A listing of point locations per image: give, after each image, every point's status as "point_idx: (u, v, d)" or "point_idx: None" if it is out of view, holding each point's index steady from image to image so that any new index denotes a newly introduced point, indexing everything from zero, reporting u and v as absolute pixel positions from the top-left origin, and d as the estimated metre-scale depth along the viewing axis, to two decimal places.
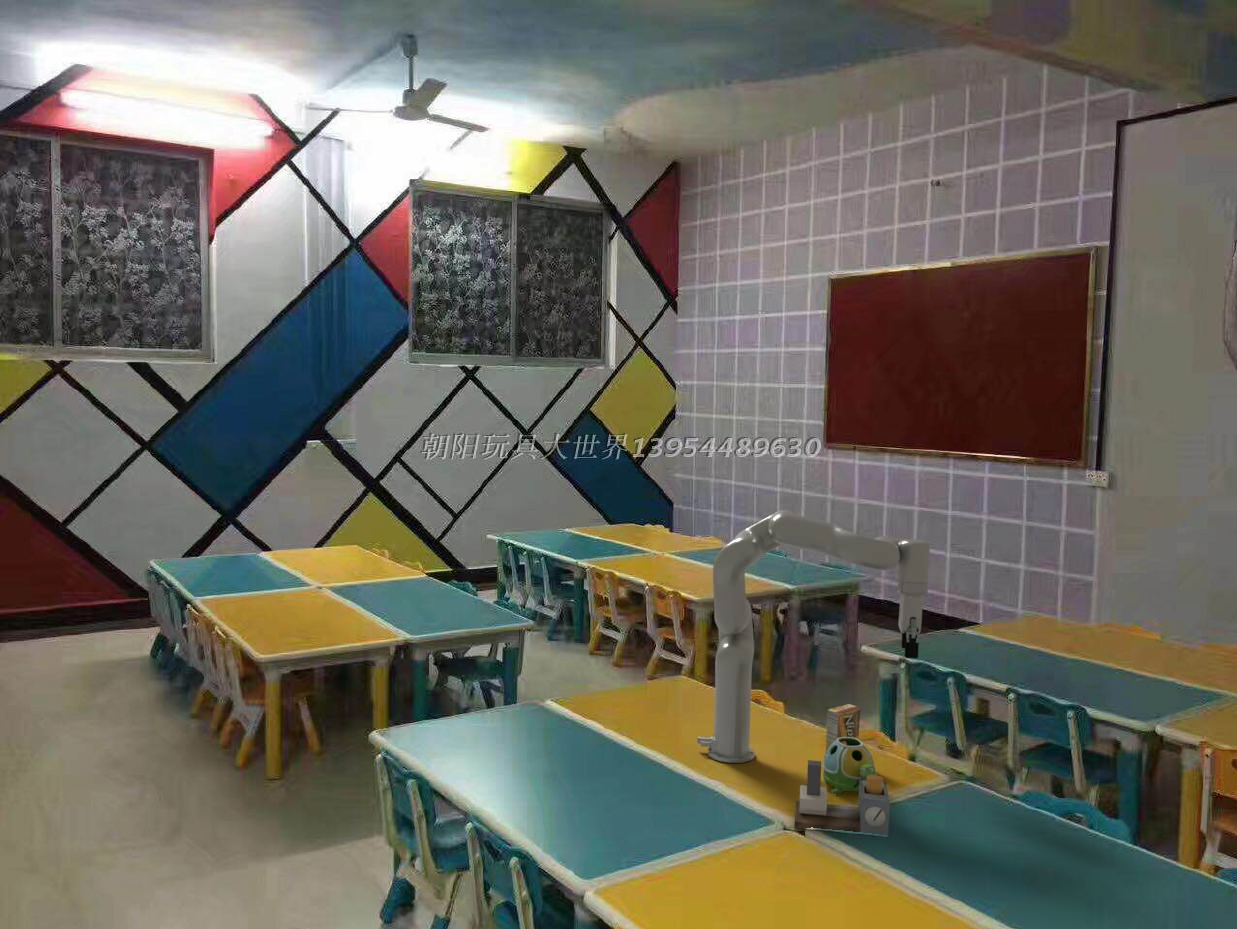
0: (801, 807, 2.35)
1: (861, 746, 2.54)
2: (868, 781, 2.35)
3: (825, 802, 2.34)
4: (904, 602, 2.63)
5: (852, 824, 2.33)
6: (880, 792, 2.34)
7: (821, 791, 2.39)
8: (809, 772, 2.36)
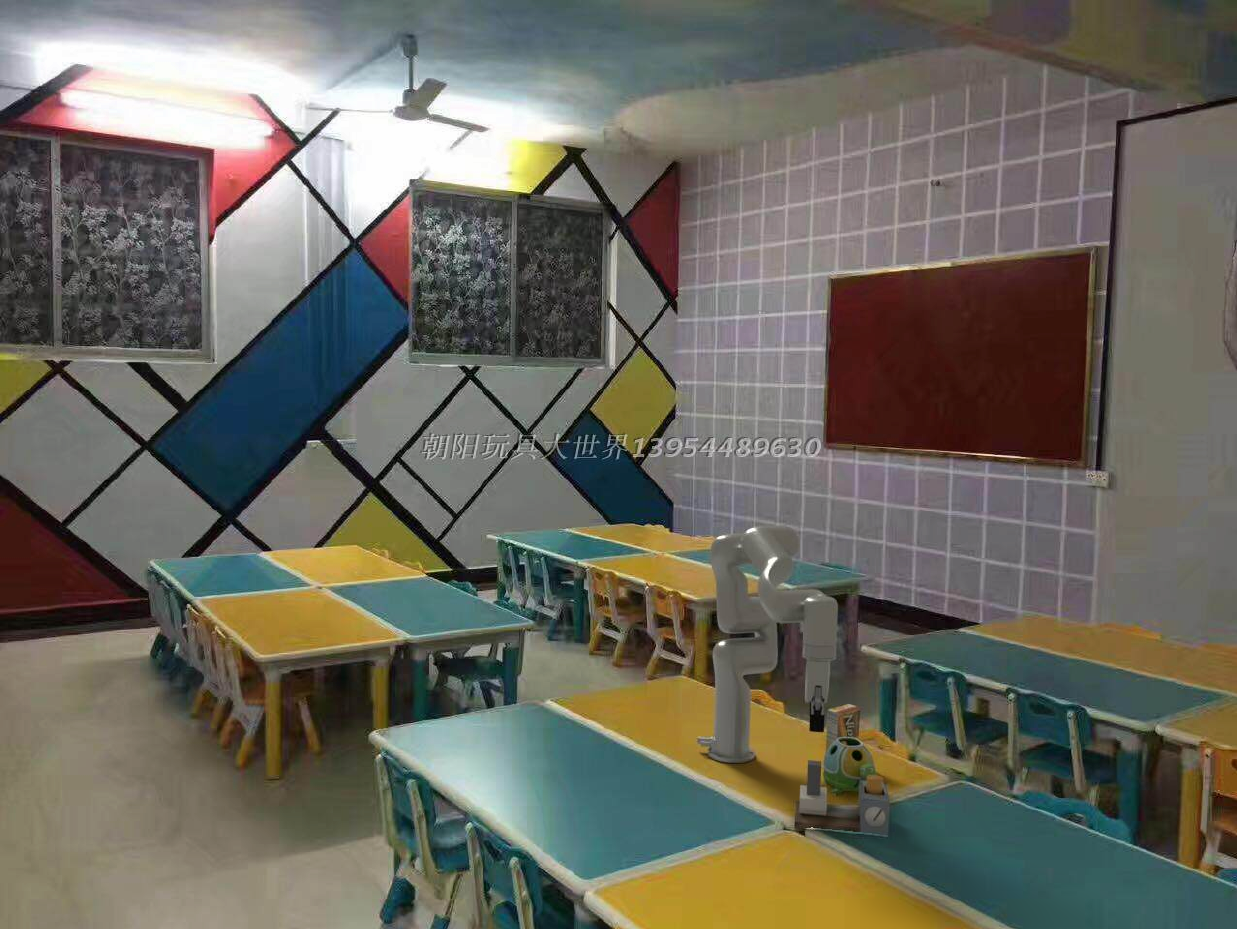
0: (801, 807, 2.35)
1: (861, 746, 2.54)
2: (868, 781, 2.35)
3: (825, 802, 2.34)
4: (808, 668, 2.32)
5: (852, 824, 2.33)
6: (880, 792, 2.34)
7: (821, 791, 2.39)
8: (809, 772, 2.36)
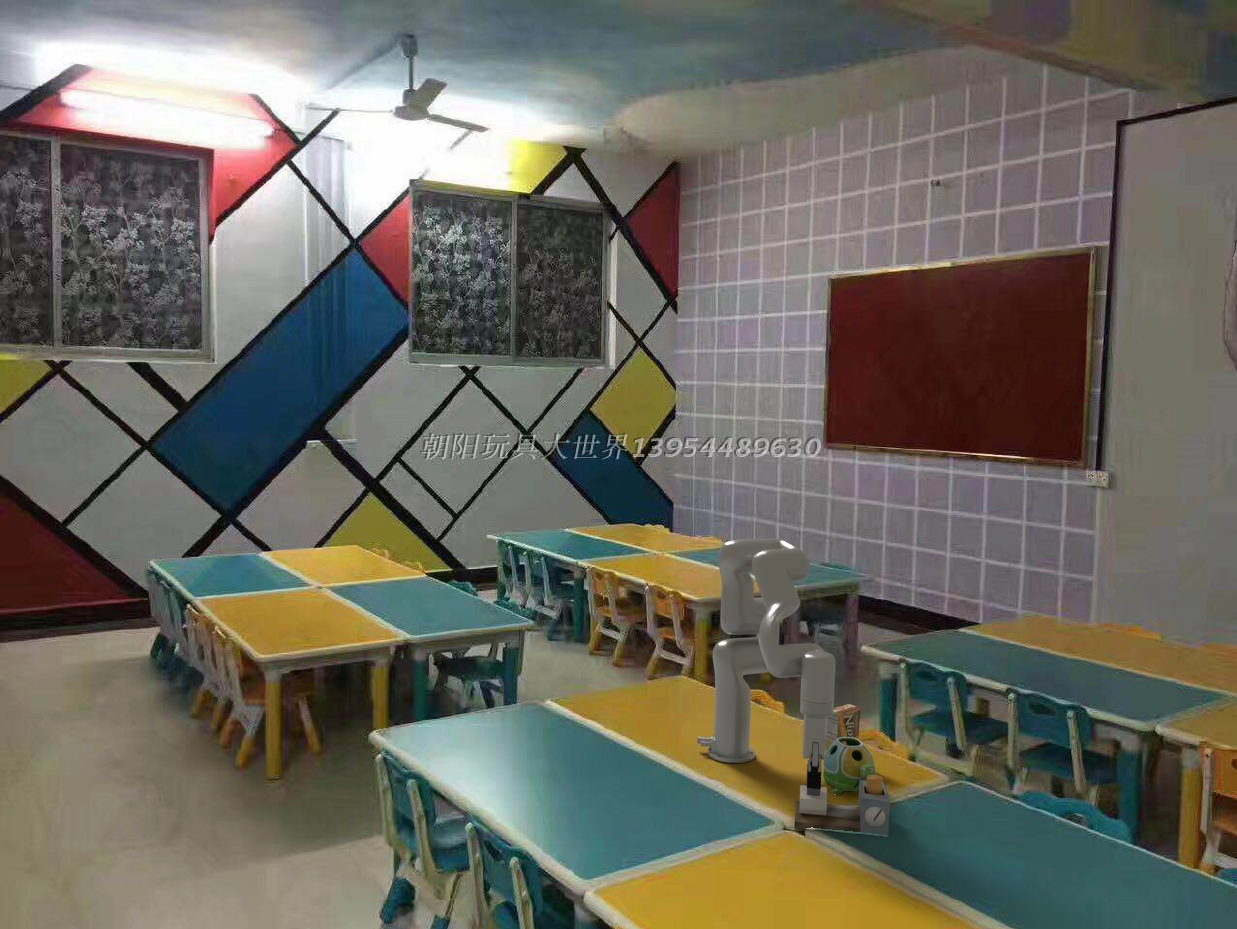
0: (801, 807, 2.35)
1: (861, 746, 2.54)
2: (868, 781, 2.35)
3: (825, 802, 2.34)
4: (806, 725, 2.33)
5: (852, 824, 2.33)
6: (880, 792, 2.34)
7: (821, 791, 2.39)
8: None
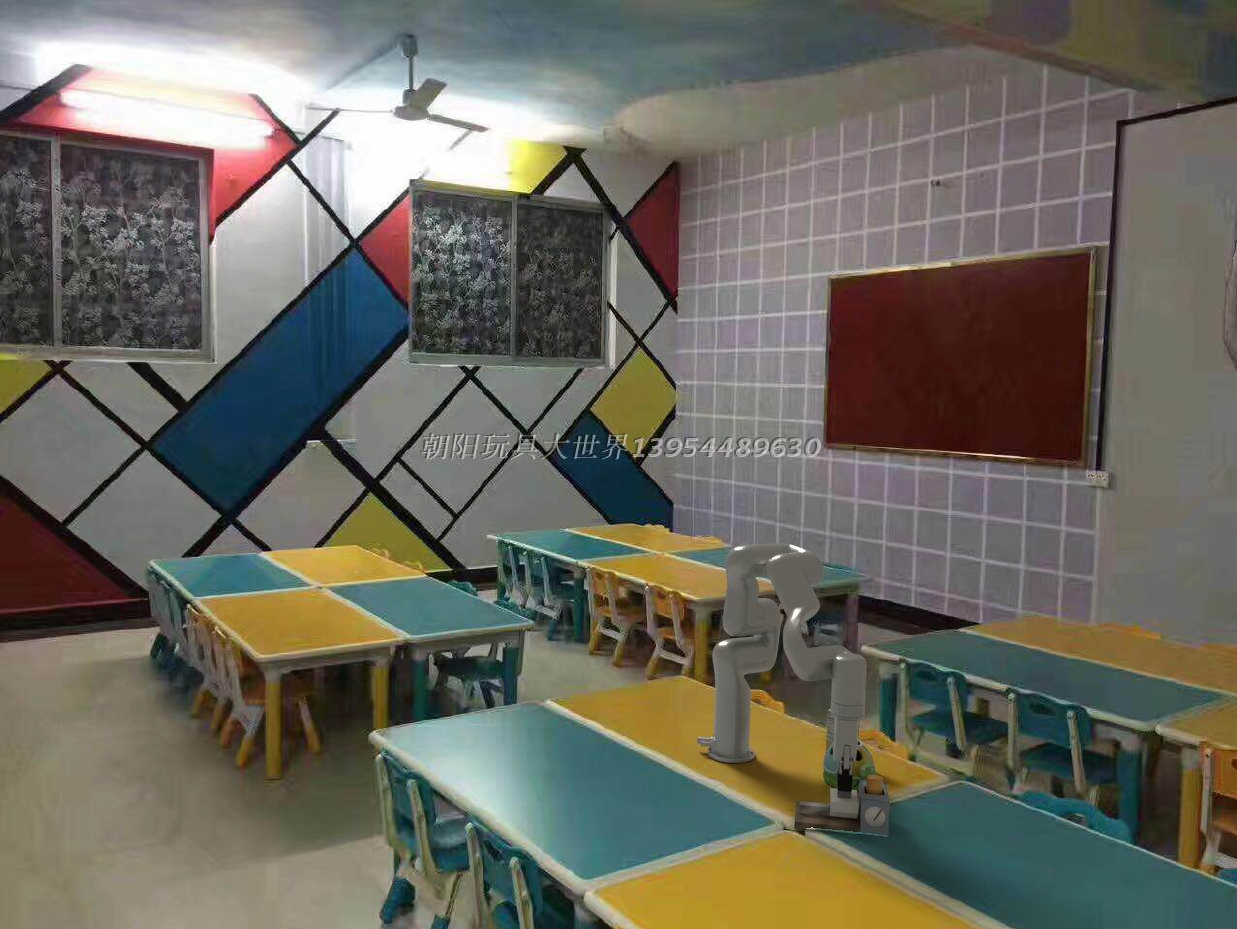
0: (832, 810, 2.34)
1: (861, 746, 2.54)
2: (868, 781, 2.35)
3: (856, 805, 2.32)
4: (837, 727, 2.32)
5: (852, 824, 2.33)
6: (880, 792, 2.34)
7: (852, 794, 2.38)
8: None
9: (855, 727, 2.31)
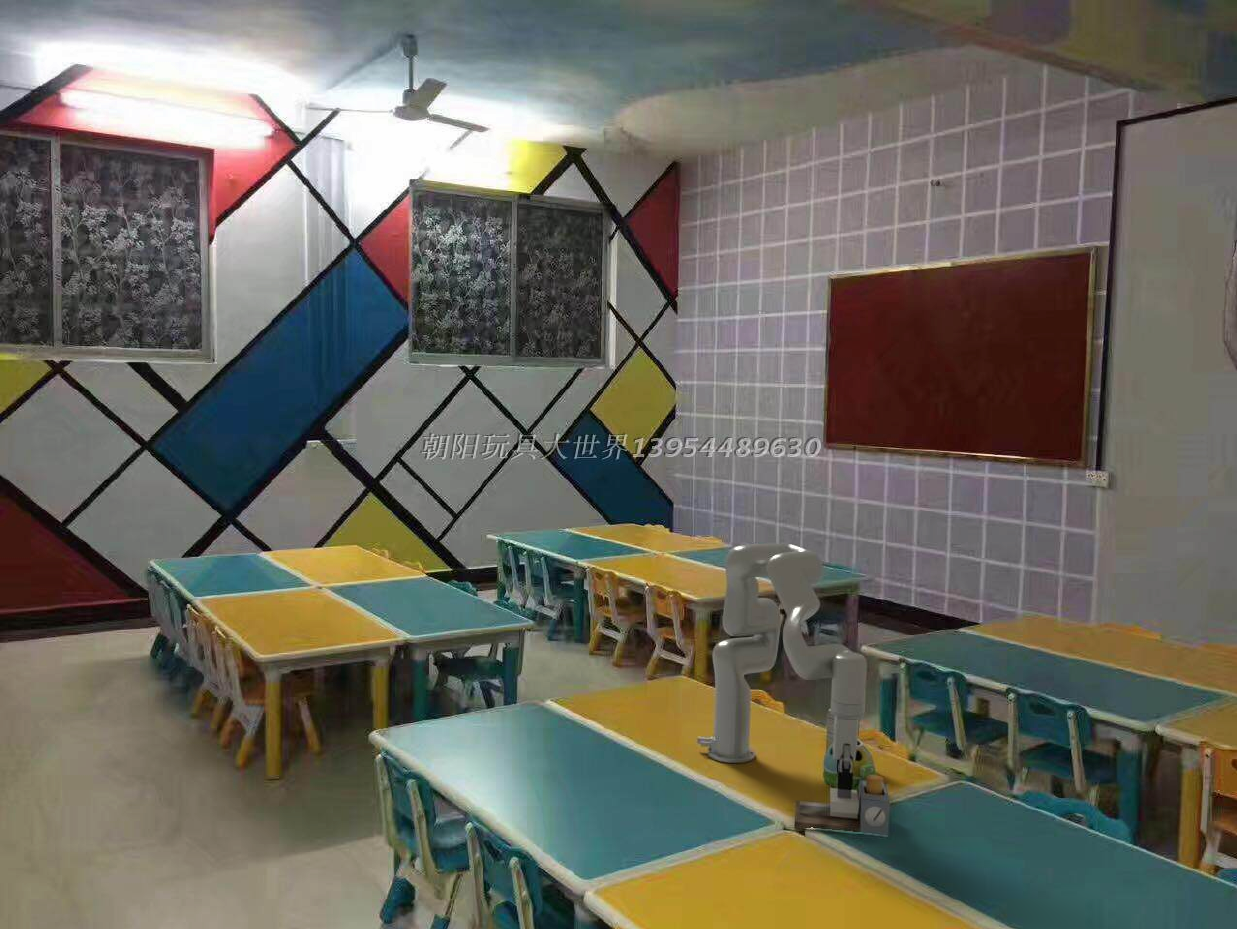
0: (832, 810, 2.34)
1: (861, 746, 2.54)
2: (868, 781, 2.35)
3: (856, 805, 2.32)
4: (837, 726, 2.32)
5: (852, 824, 2.33)
6: (880, 792, 2.34)
7: (852, 794, 2.38)
8: None
9: (855, 726, 2.31)
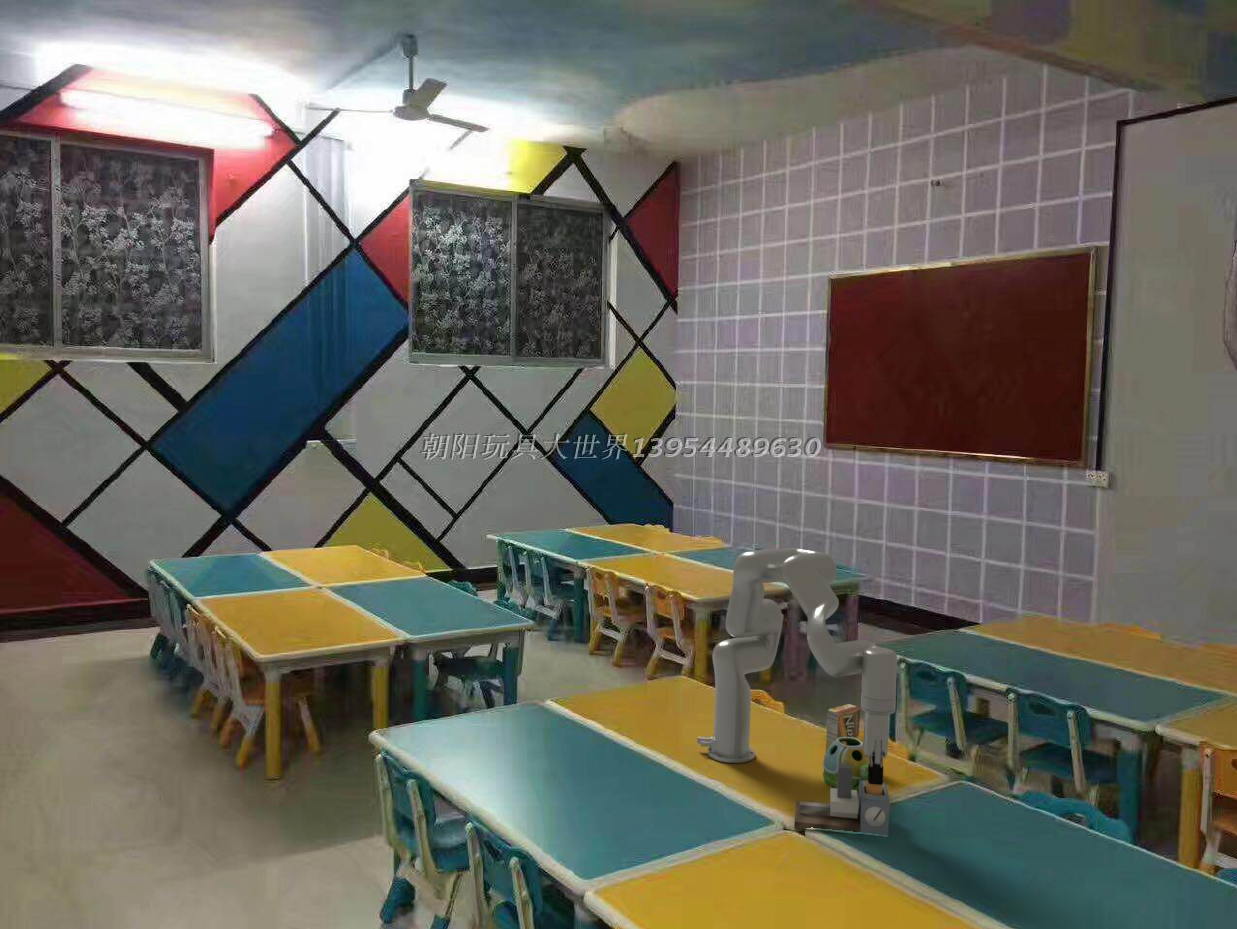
0: (832, 810, 2.34)
1: (861, 746, 2.54)
2: (868, 786, 2.35)
3: (856, 805, 2.32)
4: (868, 722, 2.30)
5: (852, 824, 2.33)
6: None
7: (852, 794, 2.38)
8: (840, 775, 2.35)
9: (886, 721, 2.30)
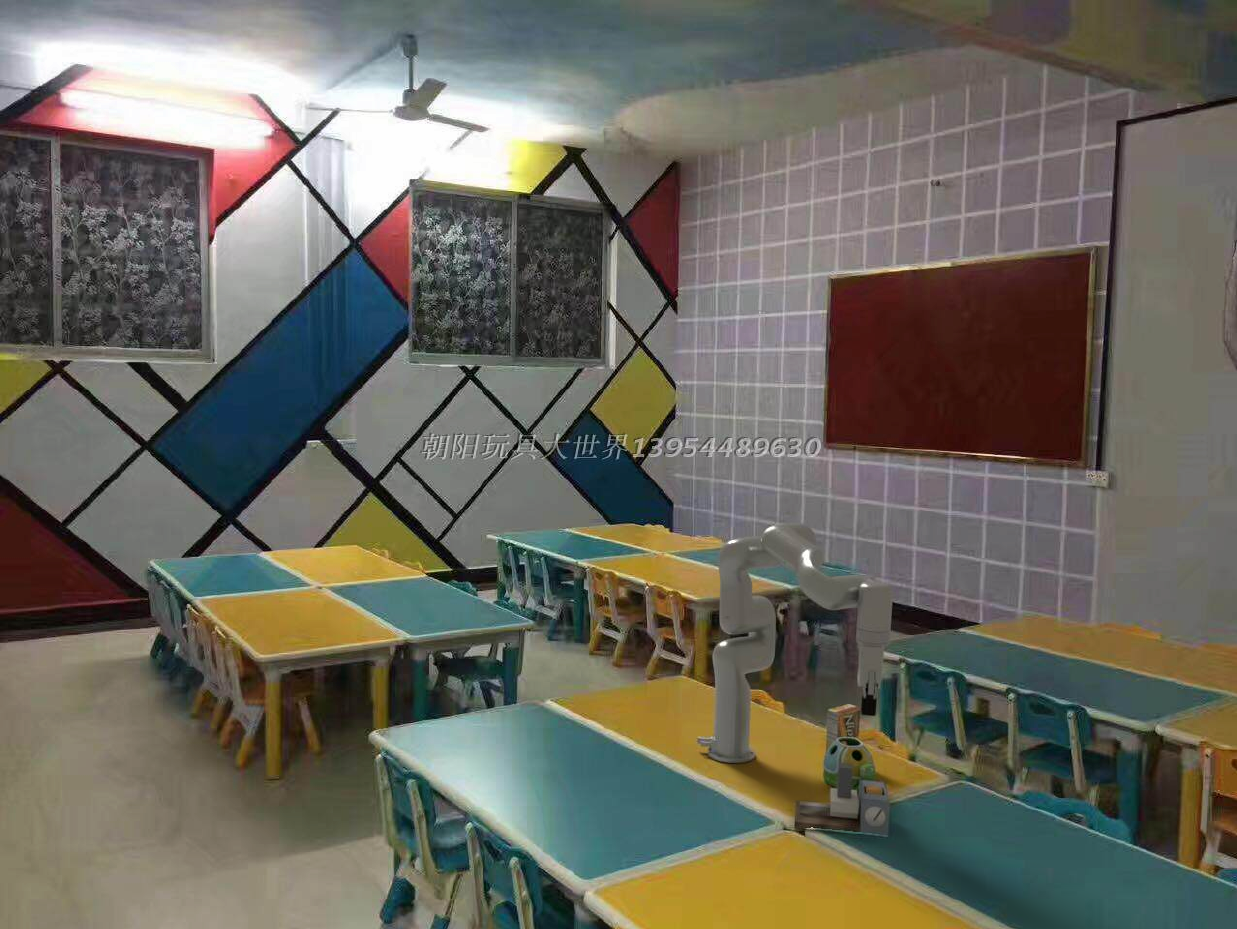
0: (832, 810, 2.34)
1: (861, 746, 2.54)
2: (868, 792, 2.35)
3: (856, 805, 2.32)
4: (862, 653, 2.33)
5: (852, 824, 2.33)
6: None
7: (852, 794, 2.38)
8: (840, 775, 2.35)
9: (880, 653, 2.33)
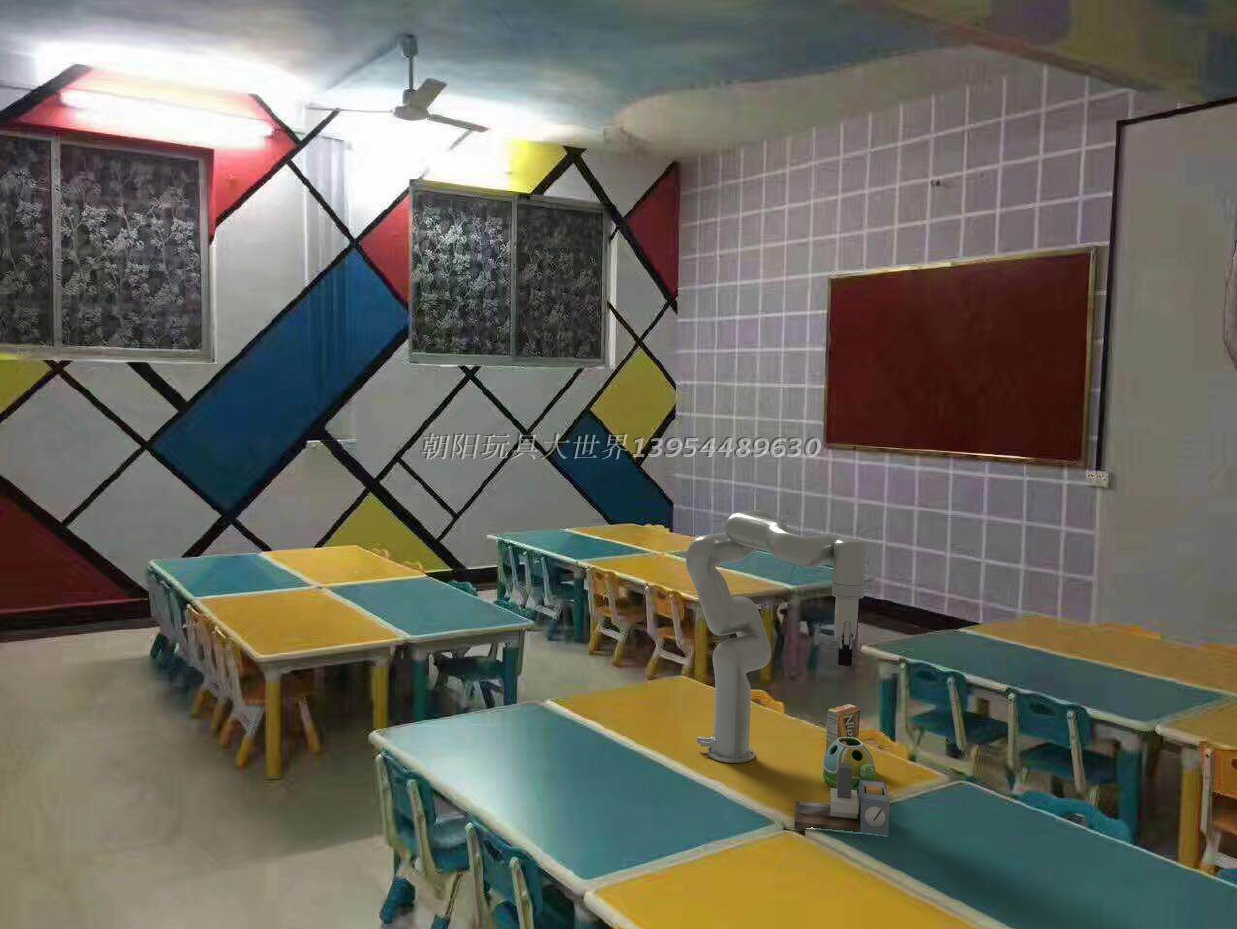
0: (832, 810, 2.34)
1: (861, 746, 2.54)
2: (868, 792, 2.35)
3: (856, 805, 2.32)
4: (838, 606, 2.47)
5: (852, 824, 2.33)
6: None
7: (852, 794, 2.38)
8: (840, 775, 2.35)
9: (855, 605, 2.46)
